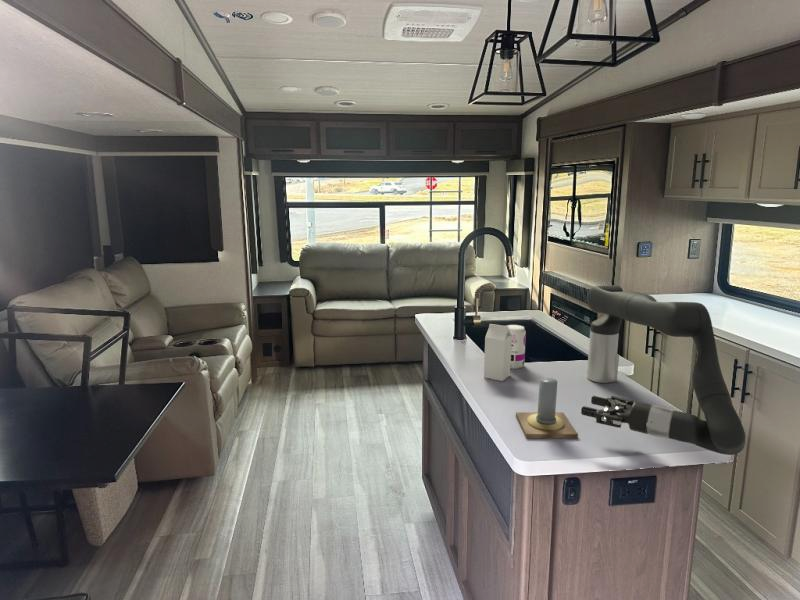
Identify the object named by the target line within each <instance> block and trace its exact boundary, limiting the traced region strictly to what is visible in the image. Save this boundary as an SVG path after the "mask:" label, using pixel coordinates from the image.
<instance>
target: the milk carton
mask: <svg viewBox="0 0 800 600" xmlns="http://www.w3.org/2000/svg"><path fill="white" fill-rule="evenodd" d="M488 325H489V326H488V329H487V332H486V335H485V337H484V358H483V359H484V365H483V366H484V367H483V378H484V379H489V378H490V379H489V380H493V381H494V380H495V381H498V382H499V381H500V382H504V381H505V380H506V379H507V378H508V377H510V375H511V368H510V366H511V343H512V335H511V333H510V331H509V326H507V325H501V324H495V323H494V324H493V323H489V324H488Z"/></svg>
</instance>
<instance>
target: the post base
mask: <svg viewBox="0 0 800 600" xmlns="http://www.w3.org/2000/svg"><path fill="white" fill-rule="evenodd" d="M537 415H538V411H536V412H533V411H532V412H530V411H529V412H527V411H526V412H525V411H523V412H522V411H521V412H520V411H519V412H518V411H517V412H515V418H516V420H517V422H518V424H519V427H520V428H521V429H520V430H522V433H523V435H524V437H525V438H526V439H579V433H578V432H577V431H576V429H575V428H574V426H573V425H572V423H571V422H570V420H569V419H568V417H567V415H566V414H565V413H564V412H561V411H560V412H557V411H556V412H555V417H556V423H555V424H553V425H544V424H541V423H538V422H537V421H536V416H537Z"/></svg>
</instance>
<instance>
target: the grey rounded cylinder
mask: <svg viewBox="0 0 800 600" xmlns="http://www.w3.org/2000/svg"><path fill="white" fill-rule="evenodd" d="M538 385H539V386H538V398H537V399H538V402H537V403H538V404H537V412H538V415H537V416H536V421H537V422H538V423H541V424H544V425H553V424H555V423H556V417H555V412H557V411H556V407H557V396H558V395H557V394H558V380H557V379H556V378H553V377H541V378H540V379H539V381H538Z"/></svg>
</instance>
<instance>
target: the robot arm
mask: <svg viewBox="0 0 800 600" xmlns="http://www.w3.org/2000/svg"><path fill="white" fill-rule="evenodd" d="M586 303H587V306H588V308H589V310H591V311H592V312H594V313H598V314H600V313H601V314H603V316H601V317H600V318H598V319H595V320H593V321H592V322H591V324H590V330H589V332H590V333H589V341H588V342H589V343H588V344H589V345H588V358H587V369H586V370H587V371H586V378H587V379H588V380H589V381H592V382H595V383H599V384H600V383H601V384H609V383H613V382H618V373H619V365H620V364H619V362H620V361H619V360H620V355H619V354H618V347H619V336H620V335H619V333H620V328H621V325H622V320H624V321H627V322H630V323H633V324H637V325H641V326H646V327H650V328H652V329H654V330H656V331H657V332H660V333H662V334H663V335H666V336H668V337H669V336H670V337H674V338H692V340H693V342H694V344H695V347H696V359H695V364H694V367H693V371H692V375H691V376H692V377H691V380H692V381H691V383H692V387H693V390H694V393H695V397H696V400H697V402H698V404H699V408H700V410H701V411H702V413H703V414H704V418H705V420H703V419H701V418H700V417H698V416H697V415H695V414H692V413H689V412H684V411H681V410H680V411H678V410H674V409H671V408H668V407H666V406H662V405H661V406H660V405H658V404H656V405H655V404H652V403H647V402H643V401H638V400H636V401H634V400H633V399H632V400H631V399H627V398H623V397H618V396H616V395H615V396H614V395H611V396H610V397H602V396H596V395H592V397H591V401H590V402H591V404H592V405H595V406H600V407H603V408H604V409H597V408H593V407H589V406H585V405H584V406H582V407H581V410H580V411H581V416H586V417H590V418H595V420H596V421H595V423H596V424H600V425H604V426H608V427H609V426H610V427H613V428H618V429H620V428H622V424H628V428H629V430H630V431H633V432H637V433H641V434H645V435H650V436H654V437H657V438H666V439H670V440H674V441H679V442H682V443H688V444H692V445H693V446H697V447H700V448H703V449H705V450H707V451H711V452H713V453H717V454H721V455H726V456H732V455H733V456H734V455H737V454H739V453H740V452H742V451H743V450H744V448H745V446H746V431H745V429H744V427H743V424H742V421H741V418H740V417H739V415H738V413H737V411H736V409H735V407H734V405H733V401H732V398H731V395H730V392H729V389H728V387H727V384H726V382H725V377H724V375H723V373H722V370H721V366H720V361H719V355H718V351H717V345H716V344H717V343H716V339H715V333H714V328H713V323H712V319H711V316H710V312H709V310H708V309H707V307H706V306H705V304H702V303H700V302H696V301H695V302H693V301H657V299H656V298H655V297H653V296H652V295H650V294H647V293H642V292H638V291H624V290H623V288H622V287H621V286H619V285H616V284H613V285H611V284H609V285H596V286H593V287H591V288H590V289H589V290H588V291H587V294H586Z"/></svg>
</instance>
